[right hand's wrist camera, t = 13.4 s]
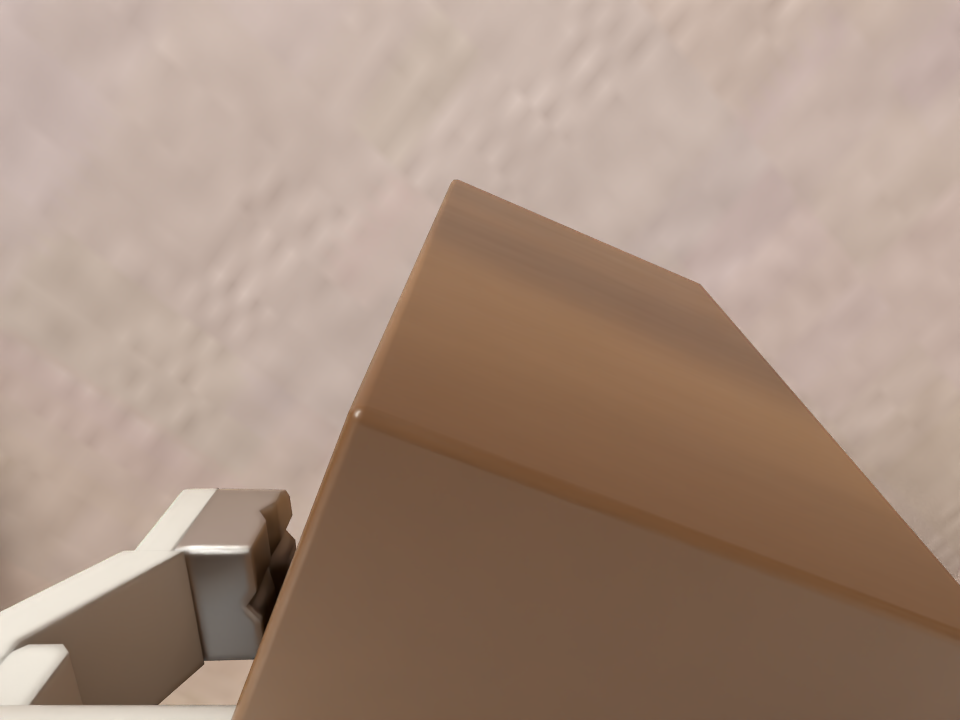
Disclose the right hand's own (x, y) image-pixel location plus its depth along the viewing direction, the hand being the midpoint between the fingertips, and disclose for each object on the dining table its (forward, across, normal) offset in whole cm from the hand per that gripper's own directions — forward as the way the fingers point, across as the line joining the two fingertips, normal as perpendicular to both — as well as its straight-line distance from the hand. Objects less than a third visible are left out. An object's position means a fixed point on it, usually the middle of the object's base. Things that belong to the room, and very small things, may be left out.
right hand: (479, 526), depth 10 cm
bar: (+3, -3, -7) cm, 8 cm away
